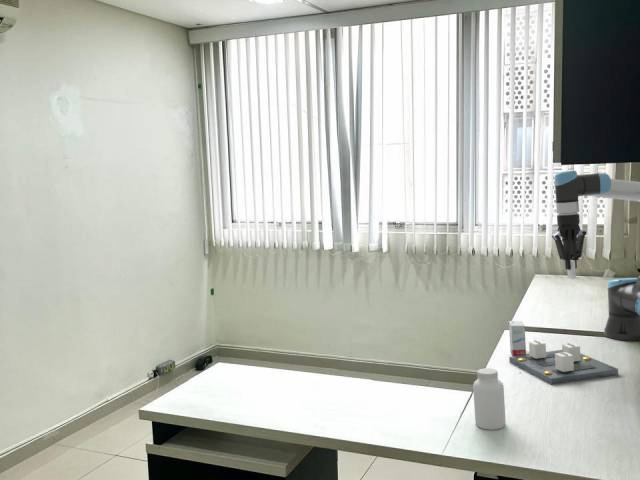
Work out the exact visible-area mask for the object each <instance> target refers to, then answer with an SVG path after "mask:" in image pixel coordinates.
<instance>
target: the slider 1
mask: <svg viewBox="0 0 640 480" xmlns="http://www.w3.org/2000/svg"><path fill="white" fill-rule="evenodd" d="M528 350H529V354H530V356H531V357H533V358H535V359H537V358H544V357H546V352H547V344H546V342H544V341H541V340H535V339H534V340H533V341H529V342H528Z"/></svg>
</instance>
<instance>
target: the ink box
mask: <svg viewBox="0 0 640 480" xmlns="http://www.w3.org/2000/svg"><path fill="white" fill-rule="evenodd" d="M508 326H509V327H508V328H509V331H508V332H509V346H510V347H509V348H510V349H509V352H510V353H511V355H512V357H513V356H520V355H527V347H526V345H527V343H526V328H525V324H524V322H523V321H522V320H508Z"/></svg>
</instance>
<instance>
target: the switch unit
mask: <svg viewBox="0 0 640 480" xmlns="http://www.w3.org/2000/svg"><path fill="white" fill-rule="evenodd" d="M560 352H563V351H562V349H557V350H552V351H551V350H550V351H546V357H544V358H537V359H535V358H533V357H531V356H530V354H527V353H526V355H520V356H513V355H512V356H509V359H508V361H509V364H512V365H514V366H516V367H517V368H518V369H521V370H523V371H525V372H527V373H529V374H531V375H532V376H535V378H536V377H537V378H538V379H540V380H541V381H543V382H544V383H545V382H546V383H547V384H549V385H552V386H553V385H559V384H566V383H567V384H568V383H573V382H580V381H586V380H587V381H588V380H594V379H600V378H607V377H613V376H619V368H617V367H616V366H615V367H614V366H612V365H609V364H607V363H605V362H603V361H600V360H597V359H596V358H592V357H591V356H588V355H586V354H583V353H581V352H580V361H574V370H573V371H566V372H562V371H560V370H558V369H556V368H555V354H556V353H560Z"/></svg>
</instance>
